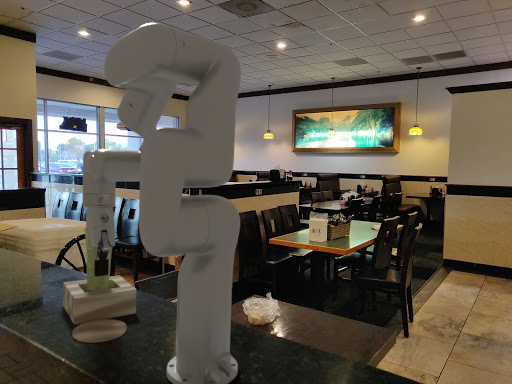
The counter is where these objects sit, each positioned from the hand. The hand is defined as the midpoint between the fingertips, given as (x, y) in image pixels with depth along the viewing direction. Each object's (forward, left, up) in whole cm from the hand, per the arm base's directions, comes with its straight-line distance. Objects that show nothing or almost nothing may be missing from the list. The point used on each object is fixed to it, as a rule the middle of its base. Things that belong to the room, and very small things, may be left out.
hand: (98, 272), depth 97 cm
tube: (0, 0, -9) cm, 9 cm away
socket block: (-1, 0, -9) cm, 9 cm away
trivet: (-14, +3, -9) cm, 17 cm away
